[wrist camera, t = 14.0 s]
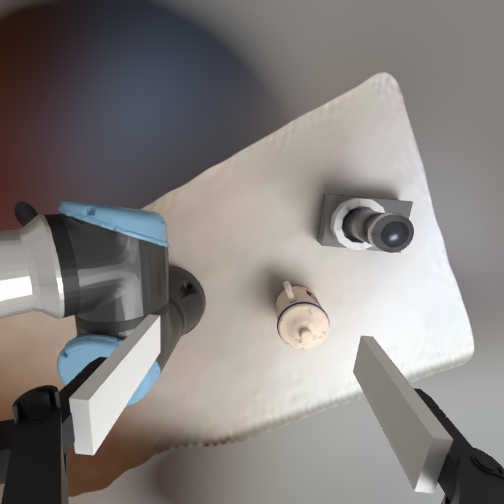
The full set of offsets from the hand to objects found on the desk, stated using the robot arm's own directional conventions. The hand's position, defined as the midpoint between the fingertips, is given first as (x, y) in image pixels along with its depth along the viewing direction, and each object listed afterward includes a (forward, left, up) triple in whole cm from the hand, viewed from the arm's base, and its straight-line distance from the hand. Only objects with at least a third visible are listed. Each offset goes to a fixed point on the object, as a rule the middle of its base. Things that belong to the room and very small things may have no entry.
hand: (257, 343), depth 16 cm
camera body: (+18, +6, -33) cm, 38 cm away
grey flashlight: (+16, +6, -29) cm, 33 cm away
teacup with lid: (+8, -11, -33) cm, 36 cm away
